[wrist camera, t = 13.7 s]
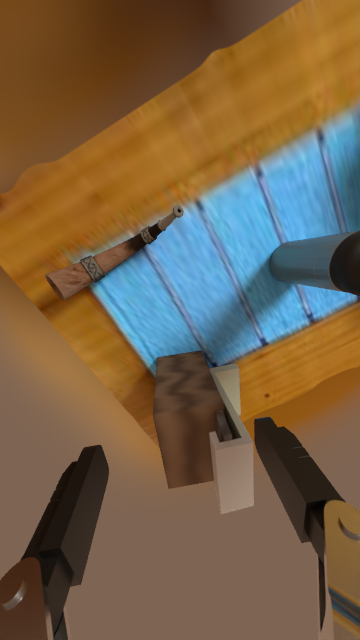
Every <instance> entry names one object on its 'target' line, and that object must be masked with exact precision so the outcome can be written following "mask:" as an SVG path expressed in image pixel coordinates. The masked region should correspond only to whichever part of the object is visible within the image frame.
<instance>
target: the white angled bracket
mask: <svg viewBox="0 0 360 640" xmlns="http://www.w3.org/2000/svg"><path fill="white" fill-rule="evenodd" d="M209 369H210V372H211V374H212V377H213V379H214V381H215V384H216V386H217V389H218V391H219V393H220V396H221V398H222V401H223V403H224V413H225V418H226V421H227V424H228V426H229V429H230V431H231V434H232V440H230V441H225V442H221V443H219V440H218V437H217V434H216V432H215V431H214V432H209V437H210V446H211V456H212V466H213V475H214V485H215V494H216V497H217V500H218V504H219V508H220V512H221V514H223V513H227V512H231V511H235V510H239V509H243V508H246V507H250V506H254V491H253V490H254V486H253V483H254V482H253V441H252V440H251V437H250V436H249V434H248V432H247V430H246V429H245V427H244V425H243V423H242V421H241V420H240V418H239V416H238V415H241V411H240V383H239V367H238V366H237V365H236V364H230V365H225V366H220V367H214V368H209Z"/></svg>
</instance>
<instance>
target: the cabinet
mask: <svg viewBox="0 0 360 640" xmlns="http://www.w3.org/2000/svg"><path fill="white" fill-rule="evenodd" d="M153 418H154V423H155V427H156V432H157V437H158V441H159V446H160V451H161V455H162V459H163V465H164V469H165V474H166V479H167V483H168V488H176V487H181V486H187V485H192V484H198V483H204V482H208V481H214V475H213V466H212V456H211V446H210V437H209V432H214V431H215V432H216V434H217V437H218V440H219V443H221V442H225V441H230V440H232V434H231V431H230V429H229V426H228V424H227V421H226V418H225V413H224V403H223V401H222V398H221V396H220V393H219V391H218V389H217V386H216V384H215V381H214V379H213V377H212V374H211V372H210V369H209V367H208V365H207V362H206V360H205V357H204V355H203V353H202V351H196V352H189V353H183V354H176V355H170V356H163V357H157V369H156V382H155V396H154V409H153Z"/></svg>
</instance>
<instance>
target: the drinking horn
mask: <svg viewBox="0 0 360 640" xmlns="http://www.w3.org/2000/svg"><path fill="white" fill-rule="evenodd" d="M181 216H183V209H182V208H181V207H180V206H179V205H175V206H174V208H173V213H171V214H170V215H169V216H167V217H165V218H164V219H162V220H159V221H158V223H157V224H155V225H153V226H152V227H150V226H148V227H146V228H145V229H143V230H142V231H141V233H140V234H138V235H136V236H135V237H133V238H131V239H129V240H127V241H125V242H123V243H121V244H119V245H117V246H115V247H113V248H111V249H109V250H107V251H104V252H102V253H100V254H98V255H95V256H93V257H92V256H89V257H86V258H84V259H81V260H80V261H81V262H79V263H76V264H73V265H71V266H68V267H66V268H63V269H60V270H57V271H54V272H51V273H49V274H46V275H45V276H46V279H47V281H48V282H49V284H50V285H51V287H52V288H53V290H54V291H55V292H56V293H57V295H58V296H59V297H60V298H61V299H62V300H66V299H68V298H70V297H71V296H73V295H74V294H76V293H77V292H79V291H80V290H82V289H83V288H85V287H86V286H88V285H89V284H91V283H92V282H97V281H98V280H100V279H101V278H103V277H104V276H105V275H104V274H106V273H107V272H109V271H110V270H112V269H113V268H115V267H116V266H118V265H119V264H120V263H122V262H123V261H125V260H126V259H128V258H129V257H130V256H132V255H133V254H135V253H136V252H137V251H139V250H140V249H141V248H143V247H144V246H145V245H147V244H151V243H152V242H153V241H154V240H156V239H157V236H158V235H159V234H160V233H161V232H162V231H165V230H166V228H167V227H168V226H169V225H170V224H171V223H172V222H173V220H174V219H175V218H176V217H178V218H179V217H181Z"/></svg>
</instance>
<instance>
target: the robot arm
mask: <svg viewBox="0 0 360 640" xmlns="http://www.w3.org/2000/svg"><path fill="white" fill-rule="evenodd" d="M270 270H271V273H272V274H273V276H274V277H275V278H276V279H278V280H280V281H283V282H289V283H295V284H301V285H307V286H312V287H318V288H324V289H330V290H337V291H342V292H348V293H352V294H354V295H358V296H360V231H354V232H348V233H342V234H336V235H329V236H323V237H316V238H310V239H304V240H297V241H291V242H286V243H283V244H282V245H280V246H279V247H278V248H277V249H276V250H275V251H274V253H273V255H272V257H271V260H270ZM254 425H255V427H254V428H255V429H254V430H255V445H256V449H257V452H258V454H259V456H260V458H261V460H262V463H263V464H264V467H265V469H266V471H267V473H268V475H269V477H270V479H271V481H272V483H273V485H274V487H275V489H276V491H277V493H278V495H279V497H280V499H281V502H282V503H283V505H284V508H285V510H286V512H287V514H288V516H289V518H290V520H291V522H292V524H293V526H294V528H295V530H296V532H297V534H298V536H299V539H300V541H301V543H304V542H309V541H311V543H312V545H313V547H314V549H315V551H316V553H317V586H318V587H317V589H318V590H317V591H318V640H360V511H359V510H358V509H356V508H355V507H353V506H352V505H350V504H348V503H346V502H345V501H344V500H343V499H342V498H341V497H340V495H339V494H338V493H337V491H336V490H335V489H334V487H333V486H332V485H331V483H330V482H329V481H328V479H327V478H326V476H325V475H324V474H323V473H322V471H321V470H320V469H319V467H318V466H317V464H316V463H315V462H314V460H313V459H312V458H311V457H310V456H309V454H308V452H307V451H306V450H305V448H303V446H302V444H301V443H300V442H299V440H298V439H297V438H296V436H295V435H294V434H293V433H291V432H290V431H289V430H288V429H286V428H285V427H277V426H276V424H275V423H274V421H273V420H272V419H271V418H270V417H264V418H259V419H255V421H254ZM108 475H109V468H108V463H107V460H106V458H105V455H104V452H103V449H102V446H101V445H96V446H89V447H85V448H84V449H83V450H82V452H81V454H80V456H79V459H78V461H75V462H72V463H71V464H70V466H69V467H68V468H67V469H66V470H65V472H64V473H63V474H62V476H61V479H60V480H59V483H58V485H57V487H56V490H55V491H54V493H53V495H52V497H51V499H50V500H51V501H50V503H49V504H48V506H47V508H46V510H45V512H44V514H43V516H42V518H41V520H40V522H39V524H38V527H37V529H36V531H35V533H34V535H33V537H32V539H31V541H30V543H29V545H28V547H27V549H26V551H25V553H24V555H23V557H22V559H21V560H20V562H18V563H17V564H16V565H14V566H13V567H12V568H11V569H10V570H9V571H8V572H7V573H6V574H5V575H4V576H3V577H2V579H1V580H0V640H72V638H71V632H70V626H69V620H68V615H67V609H66V604H65V602H66V599H67V595H68V592H69V588H70V587H71V586H76V585H81V582H82V578H83V574H84V570H85V567H86V563H87V559H88V555H89V551H90V547H91V543H92V539H93V535H94V532H95V528H96V524H97V520H98V516H99V512H100V509H101V505H102V501H103V497H104V493H105V489H106V485H107V481H108Z"/></svg>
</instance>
